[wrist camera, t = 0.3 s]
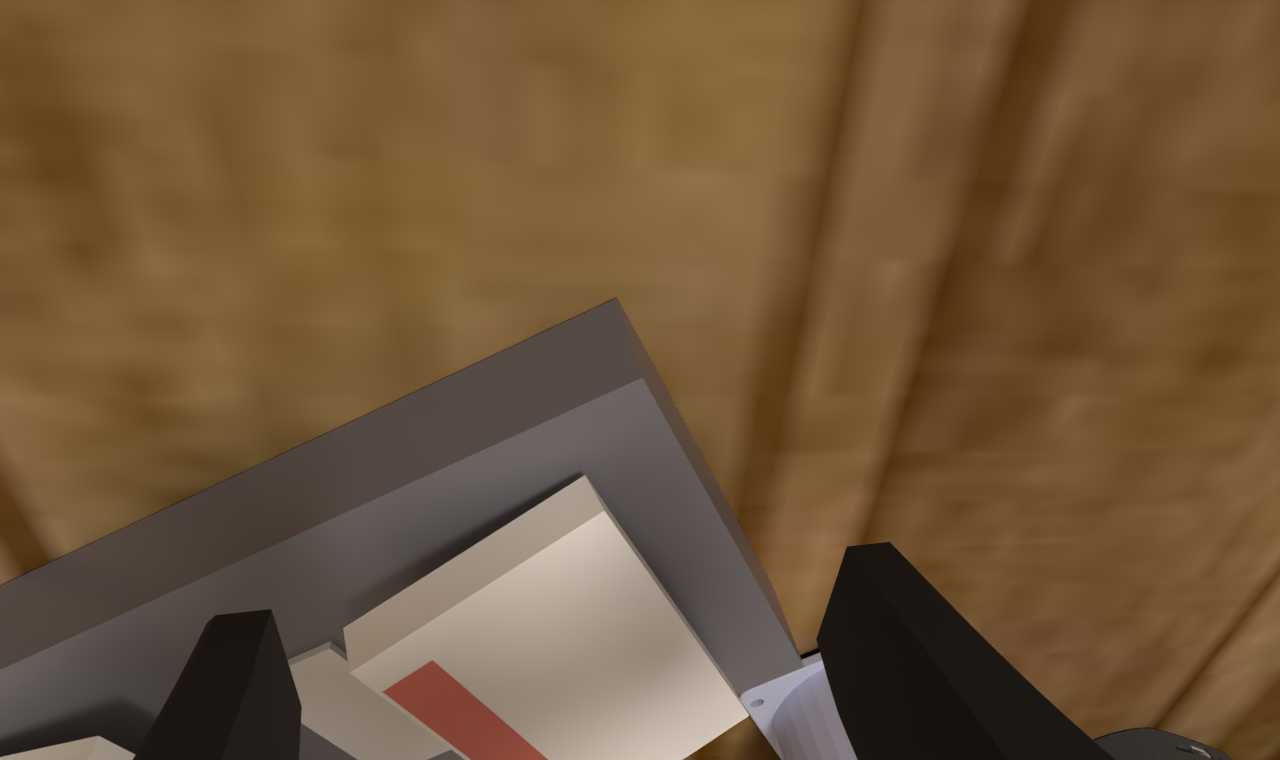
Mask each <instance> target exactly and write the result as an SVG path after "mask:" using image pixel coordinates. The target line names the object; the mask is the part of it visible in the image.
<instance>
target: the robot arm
mask: <svg viewBox="0 0 1280 760" xmlns="http://www.w3.org/2000/svg"><path fill="white" fill-rule="evenodd" d="M816 640H817V643H818V647H819V650H820V652H819V653H816V654H814V655H811V656H809V657H807V658H804V659H802V662H803V665H804V667H802V668H800V669H798V670H795V671H793V672H790V673H788V674H785V675H783V676H780V677H778V678H775V679H773V680H771V681H768V682H766V683H763V684H761V685H758V686H756V687H753V688H751V689H748V690H746V691H744V692H741V693H739V694H738V696H739V699H740V700H741V702H742V704H743V706H744V707H745V709H746V710H747V712H748V713H749V715H750V716H751V718H752V719H753V720H754V722H755V723H756V725H757V726H758V727H759V729H760V730H761V732H762V733H763V735H764V736H765V737H766V739H767V740H768V742H769V743H770V744H771V746H772V747H773V749H774V750H775V752H776V753H777V754H778V756H779V757H780V759H781V760H1115V759H1114V758H1113V757H1112V756H1110V755H1109V754H1108V753H1107V752H1106V751H1105V750H1103V749H1102V748H1101V747H1100V746H1099V745H1098V744H1097V743H1095V742H1094V741H1093V740H1092V739H1091V738H1090V737H1089V736H1087V735H1086V734H1085V733H1084V732H1083V731H1082V730H1081V729H1080V728H1078V727H1077V726H1076V725H1075V724H1074V723H1073V722H1072V721H1071V720H1069V719H1068V718H1067V717H1066V716H1065V715H1064V714H1063V713H1062V712H1061V711H1059V710H1058V709H1057V708H1056V707H1055V706H1054V705H1053V704H1052V703H1051V702H1050V701H1049V700H1048V699H1046V698H1045V697H1044V696H1043V695H1042V694H1041V693H1040V692H1039V691H1038V690H1037V689H1036V688H1035V687H1034V686H1033V685H1032V684H1031V683H1030V682H1028V681H1027V680H1026V679H1025V678H1024V677H1023V676H1022V675H1021V674H1020V673H1019V672H1018V671H1017V670H1016V669H1015V668H1014V667H1013V666H1012V665H1011V664H1010V663H1009V662H1008V661H1007V660H1006V659H1005V658H1004V657H1003V656H1001V655H1000V654H999V653H998V652H997V651H996V650H995V649H994V648H993V647H992V646H991V645H990V644H989V643H988V642H987V641H986V640H985V639H984V638H983V637H982V636H981V635H980V634H979V633H978V632H977V631H976V630H975V629H974V628H973V627H972V626H971V625H970V624H969V623H968V622H967V621H966V620H965V619H964V618H963V617H962V616H961V615H960V614H959V613H958V612H957V611H956V610H955V609H954V608H953V607H952V606H951V604H950V603H949V602H948V601H947V600H946V599H945V598H944V597H943V596H942V595H941V594H940V593H939V592H938V591H937V590H936V589H935V588H934V587H933V586H932V585H931V584H930V583H929V582H928V581H927V580H926V579H925V578H924V577H923V576H922V575H921V574H920V573H919V572H918V571H917V570H916V569H915V568H914V566H913V565H912V564H911V563H910V562H909V561H908V560H907V559H906V558H905V557H904V556H903V555H902V554H901V553H900V552H899V551H898V550H897V549H896V548H895V547H894V546H893V545H892V544H891V543H890V542H886V543H876V544H867V545H858V546H849V547H847V548H846V551H845V554H844V557H843V560H842V564H841V567H840V570H839V573H838V576H837V579H836V582H835V585H834V588H833V591H832V594H831V597H830V600H829V603H828V606H827V609H826V612H825V615H824V618H823V621H822V624H821V627H820V630H819V633H818V636H817V639H816ZM301 712H302V705H301V702H300V699H299V696H298V693H297V689H296V686H295V683H294V680H293V677H292V673H291V670H290V667H289V664H288V661H287V657H286V654H285V651H284V648H283V645H282V641H281V638H280V635H279V632H278V629H277V625H276V622H275V619H274V616H273V613H272V609H267V610H258V611H249V612H239V613H230V614H221V615H215V616H214V617H213V618H212V619H211V620H209V621H208V622H207V624H206V626H205V628H204V630H203V632H202V634H201V636H200V638H199V640H198V642H197V644H196V646H195V648H194V650H193V652H192V654H191V656H190V658H189V660H188V662H187V663H186V665H185V667H184V669H183V671H182V673H181V675H180V677H179V679H178V681H177V682H176V684H175V686H174V688H173V690H172V692H171V693H170V695H169V697H168V699H167V701H166V703H165V704H164V706H163V708H162V710H161V711H160V713H159V715H158V717H157V719H156V720H155V722H154V724H153V726H152V727H151V729H150V731H149V733H148V734H147V736H146V738H145V740H144V741H143V743H142V745H141V747H140V748H139V750H138V752H137V753H136V755H135V756H134V758H133V760H299V748H300V730H301Z"/></svg>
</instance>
